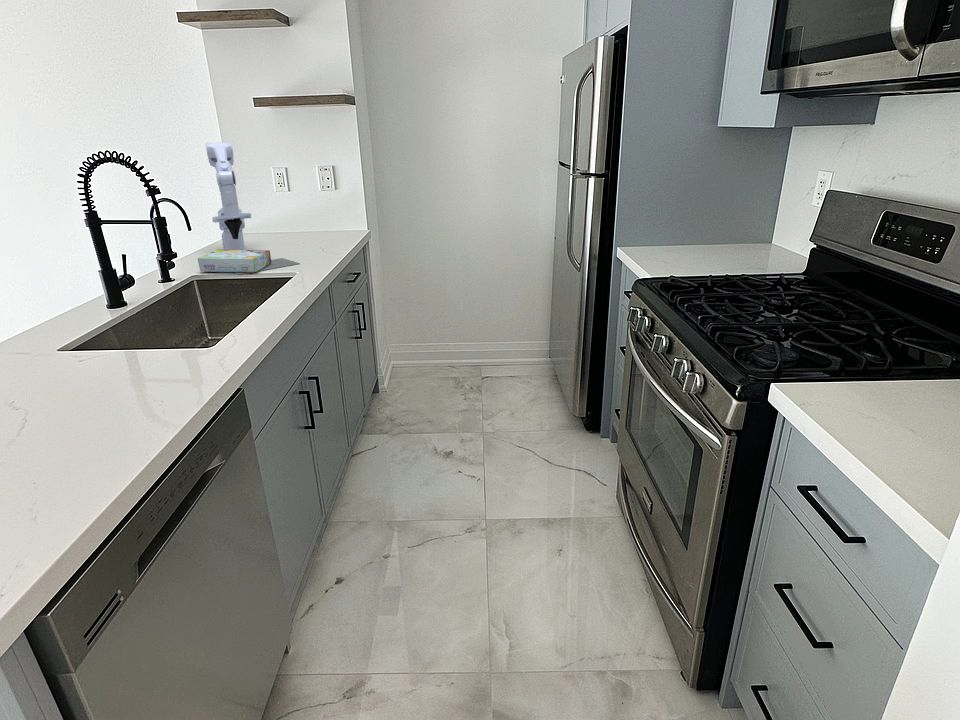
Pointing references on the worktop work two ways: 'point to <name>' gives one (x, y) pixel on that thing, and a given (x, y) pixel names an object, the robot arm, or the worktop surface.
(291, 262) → the mat
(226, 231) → the robot arm
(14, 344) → the worktop surface
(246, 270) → the snack box
